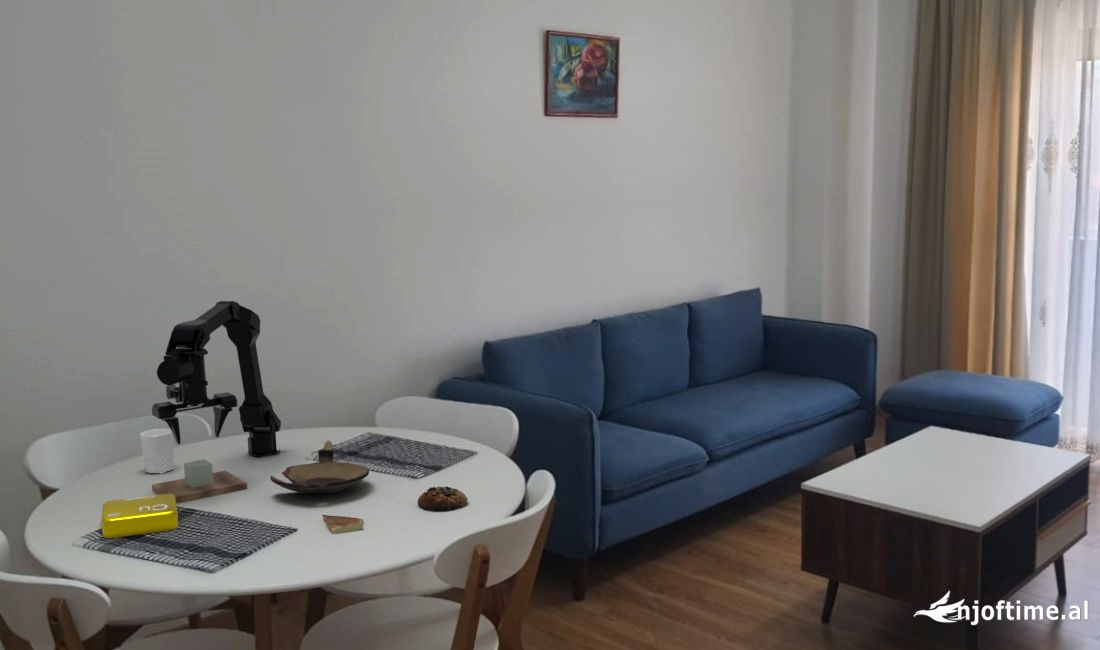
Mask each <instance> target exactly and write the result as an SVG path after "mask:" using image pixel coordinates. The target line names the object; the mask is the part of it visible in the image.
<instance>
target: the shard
mask: <svg viewBox="0 0 1100 650" xmlns="http://www.w3.org/2000/svg"><path fill="white" fill-rule="evenodd" d="M322 519H323V521H324V522H325V524H326V525H327V526H328V529H329V530H330V532H331V533H332V535H335V534H341V533H343V534H344V533H347V532H358V531H360V530H361V529H362V527H363V525H364V519H363V518H359V517H358V518H357V517H350V516H340V515H329V514H322Z"/></svg>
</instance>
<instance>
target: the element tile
mask: <svg viewBox="0 0 1100 650" xmlns="http://www.w3.org/2000/svg"><path fill="white" fill-rule="evenodd" d="M178 515H179V514H178V503H176V497H175V495H173V494H162V495H158V494H156V495H147V496H139V497H130V498H129V497H128V498H124V499H116V500H115V499H114V500H107V501H105V502H104V503H103V504H102V510H101V519H100V521H101V530H102V531H101V532H102V538H104V539H114V538H123V537H128V536H138V535H146V534H153V533H159V532H167V531H172V530H176V529H178V528H179V516H178Z"/></svg>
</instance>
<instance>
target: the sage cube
mask: <svg viewBox="0 0 1100 650" xmlns="http://www.w3.org/2000/svg"><path fill="white" fill-rule="evenodd" d="M183 468H184V478H185V483H186V484H187V485H189V486H190V487H192V488H195V487H200V486H205V485H210V484H213V473H214V472H213V463H212V462H210V461H208V460H207V459H205V458H204V459H198V460H193V461H187V462H184V463H183Z"/></svg>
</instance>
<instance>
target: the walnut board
mask: <svg viewBox="0 0 1100 650" xmlns="http://www.w3.org/2000/svg"><path fill="white" fill-rule="evenodd" d="M247 489H248V482H246V481H245V480H243V479H241V478H239V477H237V475H235V474H233V473H231V472H229V471H227V470H221V471H217V472H215V471H214V472H213V484H210V485H205V486H200V487H195V488H192V487H190V486H189V485H187V484H186V483H185V477H184V478H180V479H173V480H169V481H164V482H157V483H153V484H151V491H152V492H153V493H154V494H156V495H162V494H173V495H175V497H176V504H179V503H185V502H188V501H193V500H199V499H203V498H208V497H209V498H210V497H214V496H218V495H223V494H227V493H233V492H237V491H239V492H240V491H243V490H247Z"/></svg>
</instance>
